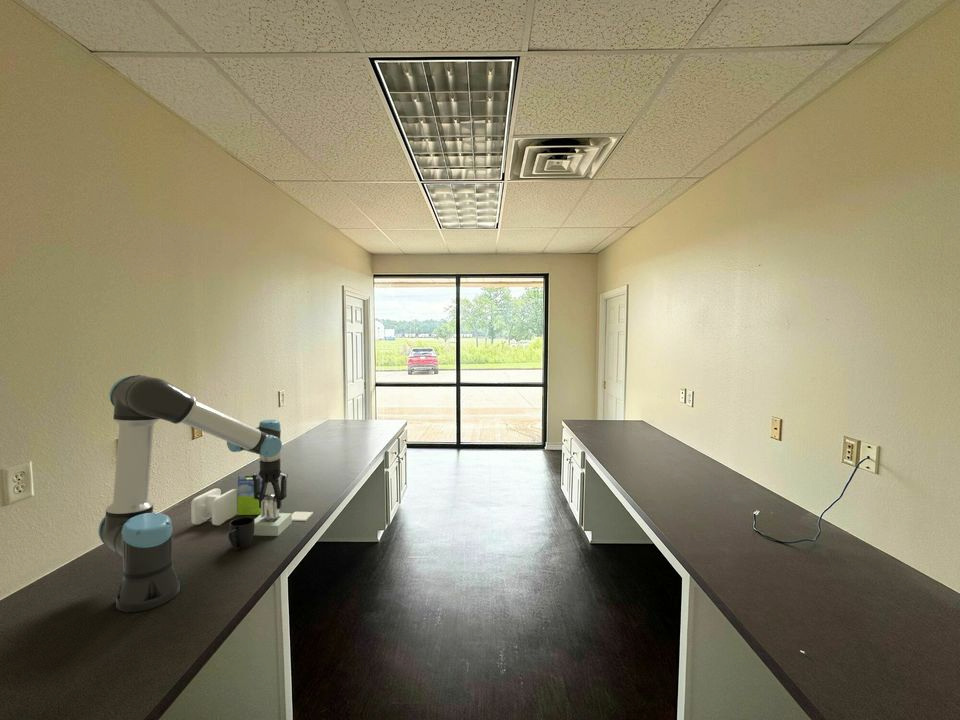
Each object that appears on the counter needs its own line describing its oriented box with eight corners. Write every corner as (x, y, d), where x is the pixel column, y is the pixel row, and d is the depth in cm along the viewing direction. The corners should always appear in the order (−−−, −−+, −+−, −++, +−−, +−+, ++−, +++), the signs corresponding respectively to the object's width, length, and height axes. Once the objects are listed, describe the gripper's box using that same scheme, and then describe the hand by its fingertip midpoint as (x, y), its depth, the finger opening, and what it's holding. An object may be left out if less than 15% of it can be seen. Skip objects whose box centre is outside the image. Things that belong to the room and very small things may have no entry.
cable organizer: (214, 529, 176) (214, 500, 176) (190, 527, 177) (189, 499, 177) (239, 514, 191) (238, 487, 190) (216, 512, 192) (216, 486, 192)
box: (266, 511, 195) (266, 472, 194) (262, 515, 191) (262, 475, 190) (241, 511, 194) (240, 473, 193) (237, 515, 189) (236, 476, 188)
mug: (218, 556, 155) (217, 530, 154) (237, 540, 167) (237, 516, 166) (241, 557, 155) (241, 531, 154) (258, 541, 167) (258, 517, 166)
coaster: (305, 521, 186) (305, 519, 186) (286, 520, 186) (286, 519, 186) (313, 513, 194) (313, 512, 194) (295, 512, 194) (295, 511, 194)
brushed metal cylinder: (273, 531, 175) (273, 497, 175) (261, 531, 175) (260, 497, 175) (279, 526, 180) (279, 493, 180) (267, 525, 180) (267, 492, 180)
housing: (278, 535, 172) (278, 525, 172) (247, 534, 172) (247, 524, 172) (291, 522, 184) (291, 513, 184) (263, 521, 184) (263, 512, 184)
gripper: (296, 456, 180) (296, 513, 181) (253, 455, 180) (253, 511, 181) (287, 462, 172) (287, 520, 174) (243, 461, 173) (243, 519, 174)
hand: (270, 516), depth 178 cm, fingers closed on brushed metal cylinder, 5 cm apart
